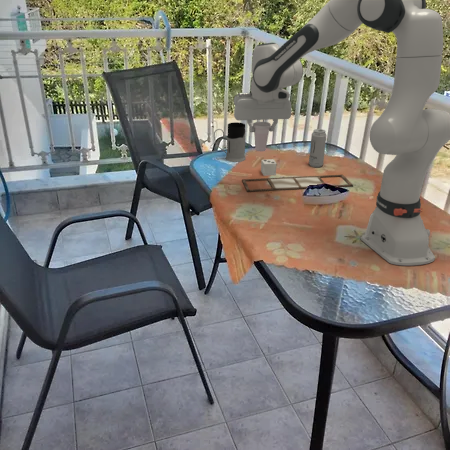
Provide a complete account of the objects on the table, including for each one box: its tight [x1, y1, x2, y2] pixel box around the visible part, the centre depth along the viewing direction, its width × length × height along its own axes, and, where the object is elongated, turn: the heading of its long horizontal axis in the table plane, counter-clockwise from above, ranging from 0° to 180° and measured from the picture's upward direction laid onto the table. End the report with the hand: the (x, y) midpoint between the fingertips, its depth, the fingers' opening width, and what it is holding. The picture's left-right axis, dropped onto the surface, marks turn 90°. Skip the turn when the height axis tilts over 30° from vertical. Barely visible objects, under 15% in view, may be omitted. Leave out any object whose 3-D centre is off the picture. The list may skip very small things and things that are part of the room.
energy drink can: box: [308, 128, 327, 168], centre depth 194 cm, size 6×6×15 cm
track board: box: [241, 174, 354, 193], centre depth 180 cm, size 11×41×1 cm, turn 98°
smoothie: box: [252, 120, 272, 152], centre depth 168 cm, size 6×6×14 cm
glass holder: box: [213, 121, 247, 163], centre depth 200 cm, size 9×14×15 cm, turn 105°
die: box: [260, 159, 278, 177], centre depth 188 cm, size 5×5×5 cm
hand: (261, 131), depth 168 cm, fingers closed on smoothie, 6 cm apart
